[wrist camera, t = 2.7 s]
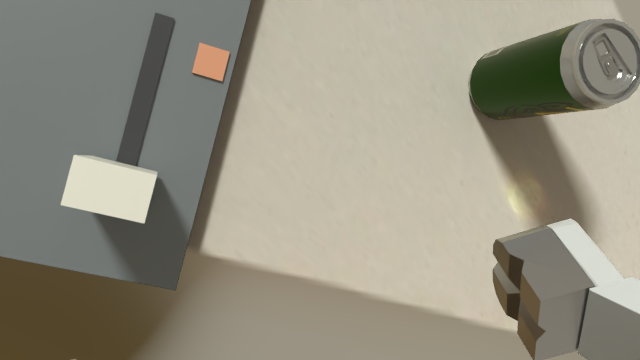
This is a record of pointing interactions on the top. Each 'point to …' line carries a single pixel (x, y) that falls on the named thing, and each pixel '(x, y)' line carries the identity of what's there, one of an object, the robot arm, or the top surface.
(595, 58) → the guarana soda can
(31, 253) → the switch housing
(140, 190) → the switch tab
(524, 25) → the top surface
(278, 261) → the top surface
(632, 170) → the top surface
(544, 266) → the robot arm
